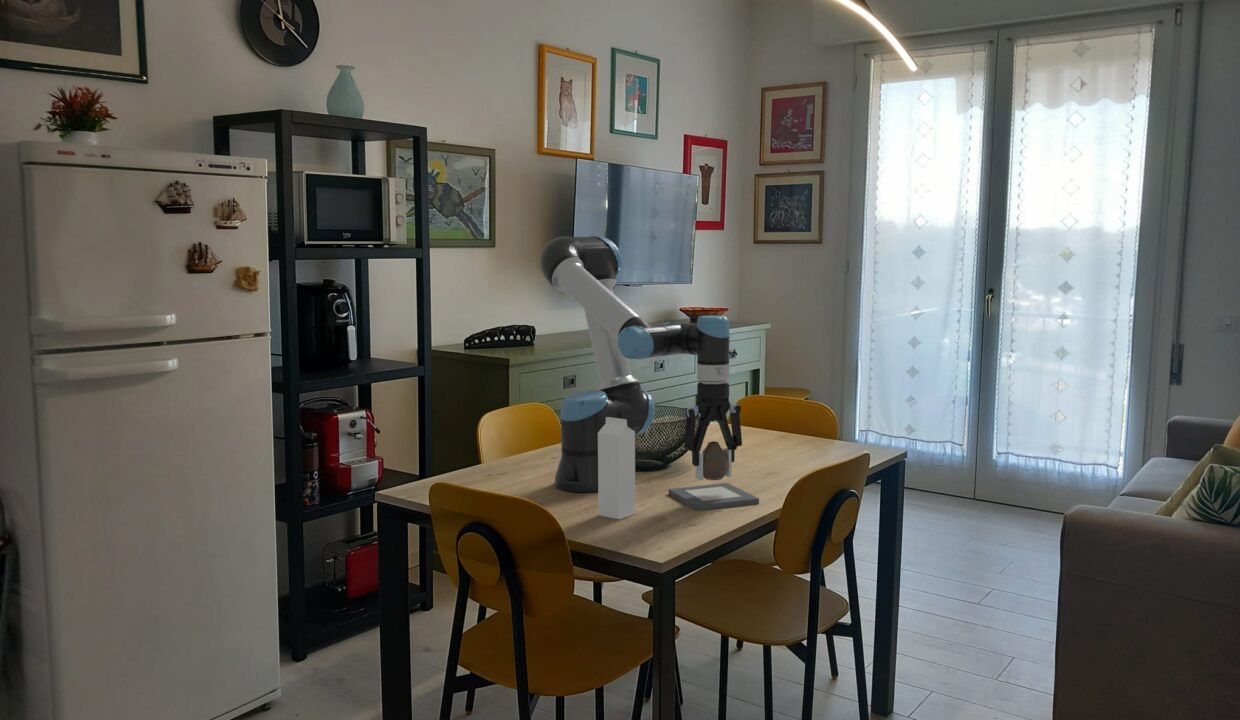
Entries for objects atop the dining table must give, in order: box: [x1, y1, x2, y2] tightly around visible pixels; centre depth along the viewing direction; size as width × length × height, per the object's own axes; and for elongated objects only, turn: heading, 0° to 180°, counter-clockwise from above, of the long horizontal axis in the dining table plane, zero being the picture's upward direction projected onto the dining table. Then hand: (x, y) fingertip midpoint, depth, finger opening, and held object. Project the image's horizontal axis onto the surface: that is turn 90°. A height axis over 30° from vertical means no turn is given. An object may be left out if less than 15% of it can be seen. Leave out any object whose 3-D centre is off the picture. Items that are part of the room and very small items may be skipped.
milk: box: [597, 417, 636, 521], centre depth 211 cm, size 6×6×22 cm
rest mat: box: [668, 482, 760, 512], centre depth 225 cm, size 16×16×1 cm
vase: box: [701, 441, 728, 481], centre depth 223 cm, size 7×7×9 cm
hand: (713, 477), depth 224 cm, fingers closed on vase, 7 cm apart
